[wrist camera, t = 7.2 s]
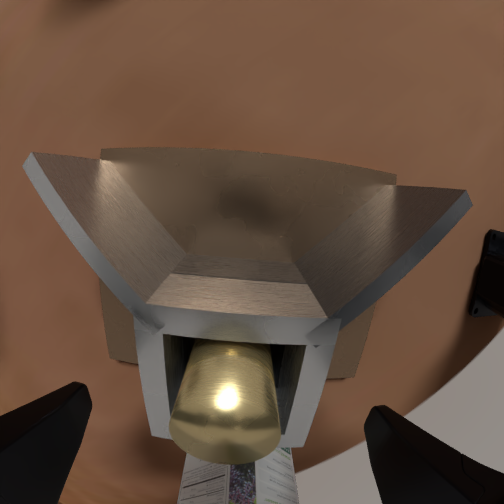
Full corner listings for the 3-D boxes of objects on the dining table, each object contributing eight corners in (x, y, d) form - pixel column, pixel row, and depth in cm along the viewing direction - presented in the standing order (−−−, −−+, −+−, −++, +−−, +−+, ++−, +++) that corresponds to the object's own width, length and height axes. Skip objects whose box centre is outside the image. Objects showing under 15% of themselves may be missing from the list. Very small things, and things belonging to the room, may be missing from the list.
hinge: (387, 175, 14) (477, 175, 7) (349, 368, 16) (389, 446, 9) (109, 150, 13) (23, 134, 6) (115, 349, 16) (66, 422, 9)
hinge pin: (259, 342, 14) (267, 468, 7) (203, 333, 14) (169, 455, 6) (270, 290, 14) (293, 406, 6) (210, 280, 14) (168, 388, 6)
